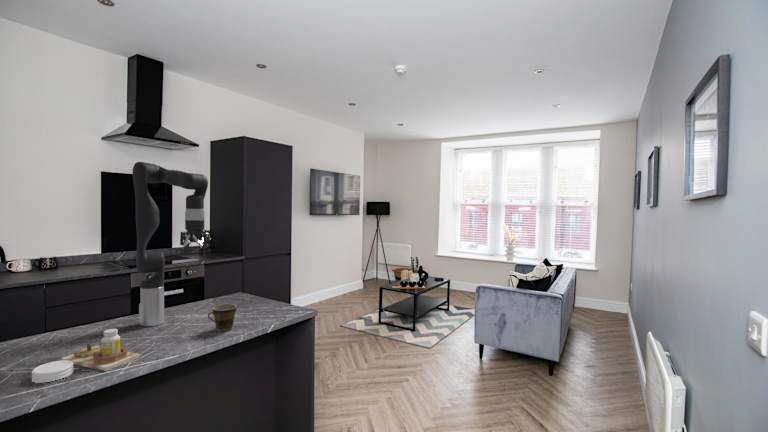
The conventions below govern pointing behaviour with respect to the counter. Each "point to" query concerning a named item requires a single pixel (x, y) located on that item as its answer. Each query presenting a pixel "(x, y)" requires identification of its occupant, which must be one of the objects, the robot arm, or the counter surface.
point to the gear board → (100, 358)
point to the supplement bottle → (110, 343)
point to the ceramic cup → (224, 316)
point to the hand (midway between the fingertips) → (194, 255)
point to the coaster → (52, 371)
